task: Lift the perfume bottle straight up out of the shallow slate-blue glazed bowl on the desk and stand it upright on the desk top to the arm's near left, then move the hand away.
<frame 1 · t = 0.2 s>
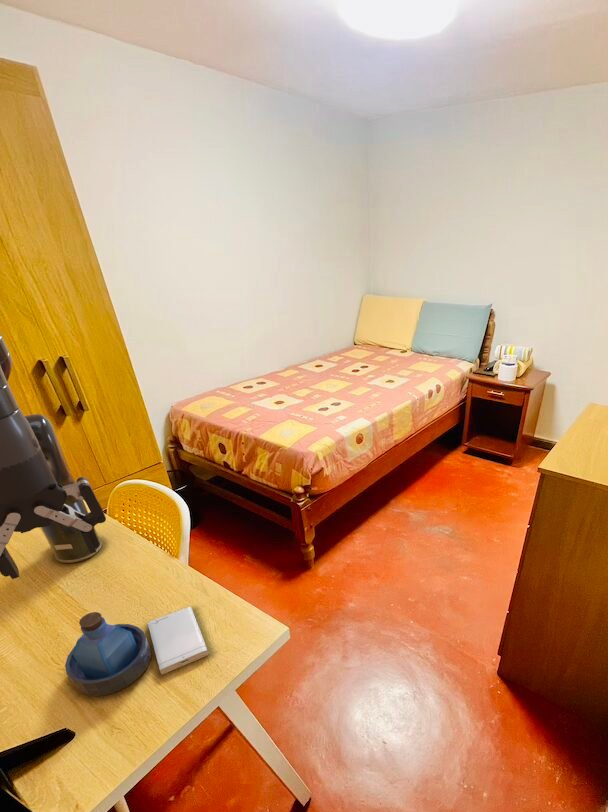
hand: (55, 561, 56), 29 cm above the table, tool pointing down, fingers open, 8 cm apart
hard drive: (178, 641, 81), on the table
perfume bottle: (114, 665, 76), resting on bowl
bowl: (114, 665, 76), on the table
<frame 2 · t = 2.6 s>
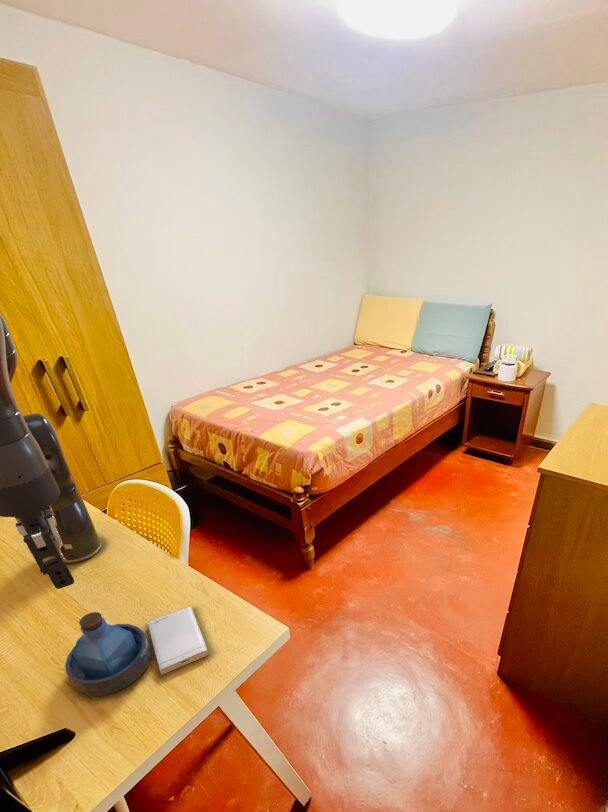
hand: (61, 568, 61), 24 cm above the table, tool pointing down, fingers open, 8 cm apart
nothing on the table moved.
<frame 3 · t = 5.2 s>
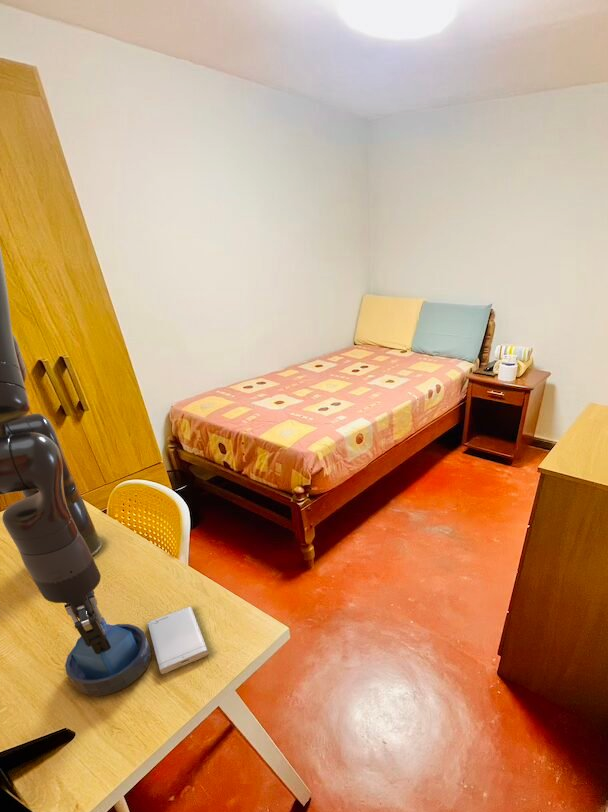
hand: (99, 637, 71), 8 cm above the table, tool pointing down, fingers closed on perfume bottle, 5 cm apart
perfume bottle: (114, 665, 76), resting on bowl, touching gripper
everything else where it was.
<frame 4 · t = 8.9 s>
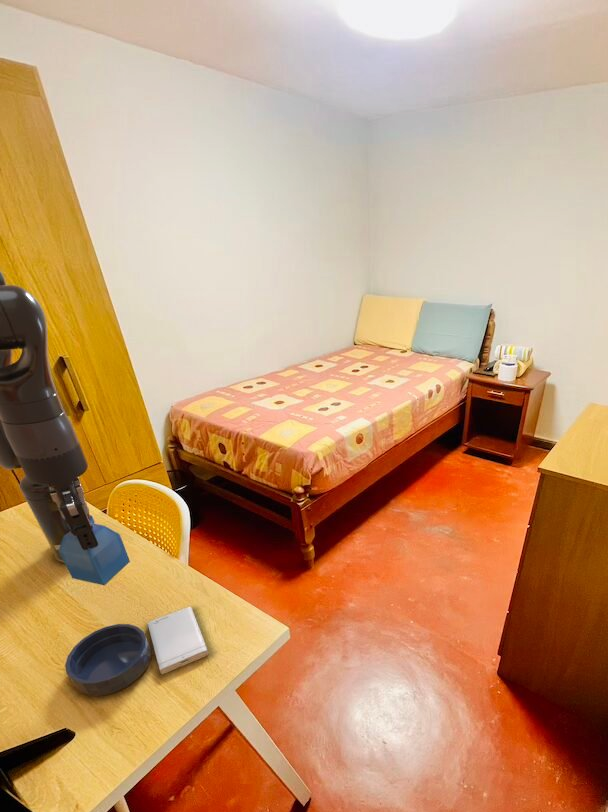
hand: (87, 536, 69), 23 cm above the table, tool pointing down, fingers closed on perfume bottle, 5 cm apart
perfume bottle: (102, 570, 74), point 15 cm above the table, touching gripper
everything else where it was.
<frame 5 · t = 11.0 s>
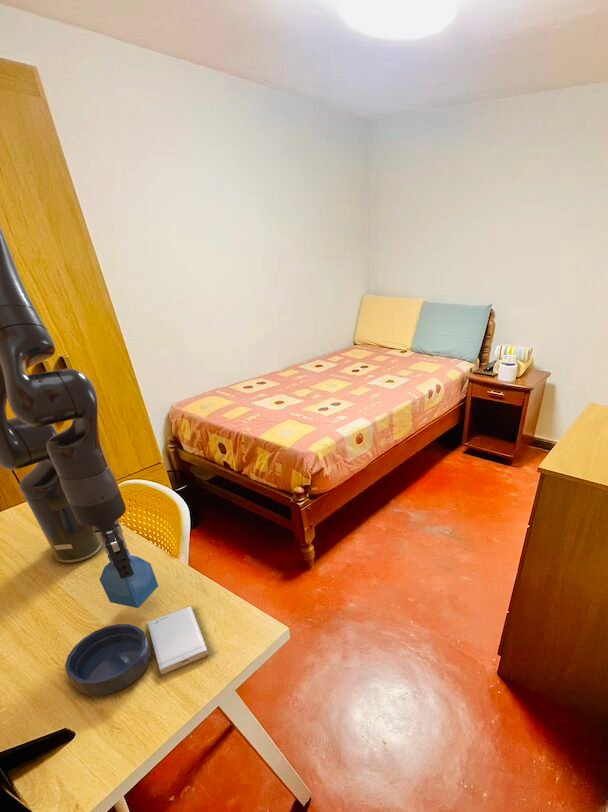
hand: (123, 566, 81), 11 cm above the table, tool pointing down, fingers closed on perfume bottle, 5 cm apart
perfume bottle: (135, 594, 85), point 4 cm above the table, touching gripper
everything else where it was.
when the fingers open (7 cm above the table, at t = 12.6 s): perfume bottle stays where it is, on the table.
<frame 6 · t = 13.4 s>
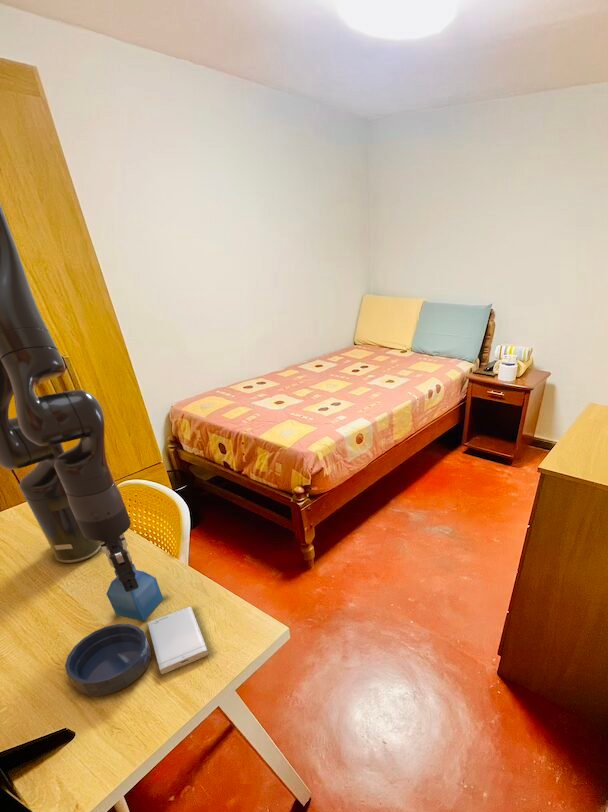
hand: (127, 576, 82), 9 cm above the table, tool pointing down, fingers open, 8 cm apart
perfume bottle: (140, 607, 87), on the table
everything else where it was.
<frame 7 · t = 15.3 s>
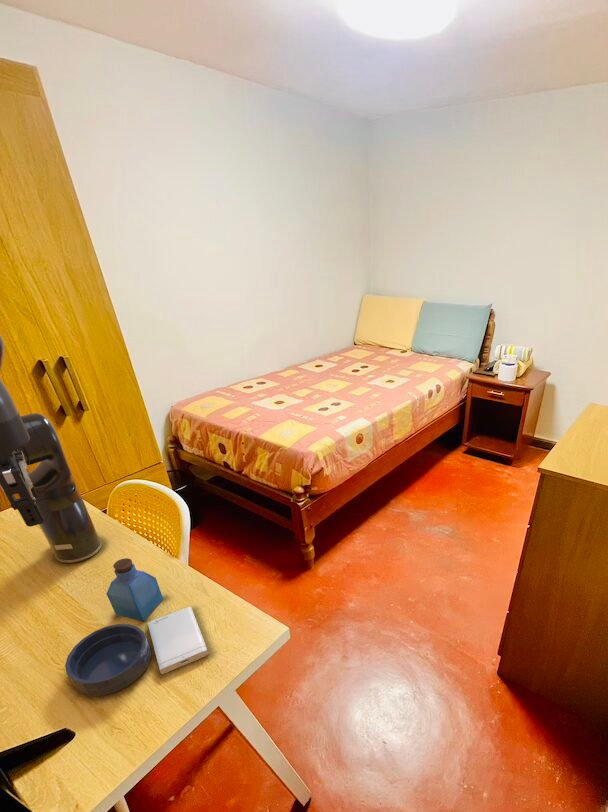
hand: (33, 510, 67), 27 cm above the table, tool pointing down, fingers open, 8 cm apart
nothing on the table moved.
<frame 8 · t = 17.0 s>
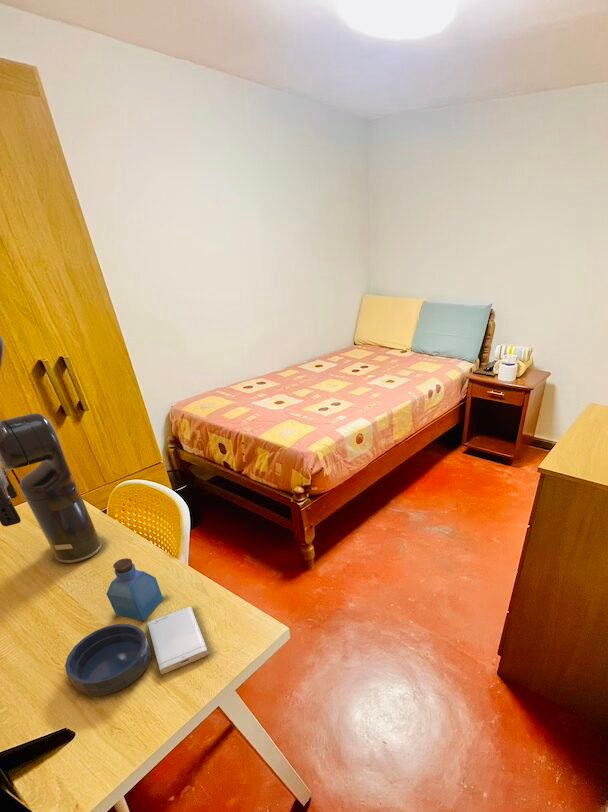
hand: (11, 510, 66), 28 cm above the table, tool pointing down, fingers open, 8 cm apart
nothing on the table moved.
at the end: perfume bottle inside the target area (0.1 cm from its centre), on the table; perfume bottle tilted 0°; perfume bottle touching table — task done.
